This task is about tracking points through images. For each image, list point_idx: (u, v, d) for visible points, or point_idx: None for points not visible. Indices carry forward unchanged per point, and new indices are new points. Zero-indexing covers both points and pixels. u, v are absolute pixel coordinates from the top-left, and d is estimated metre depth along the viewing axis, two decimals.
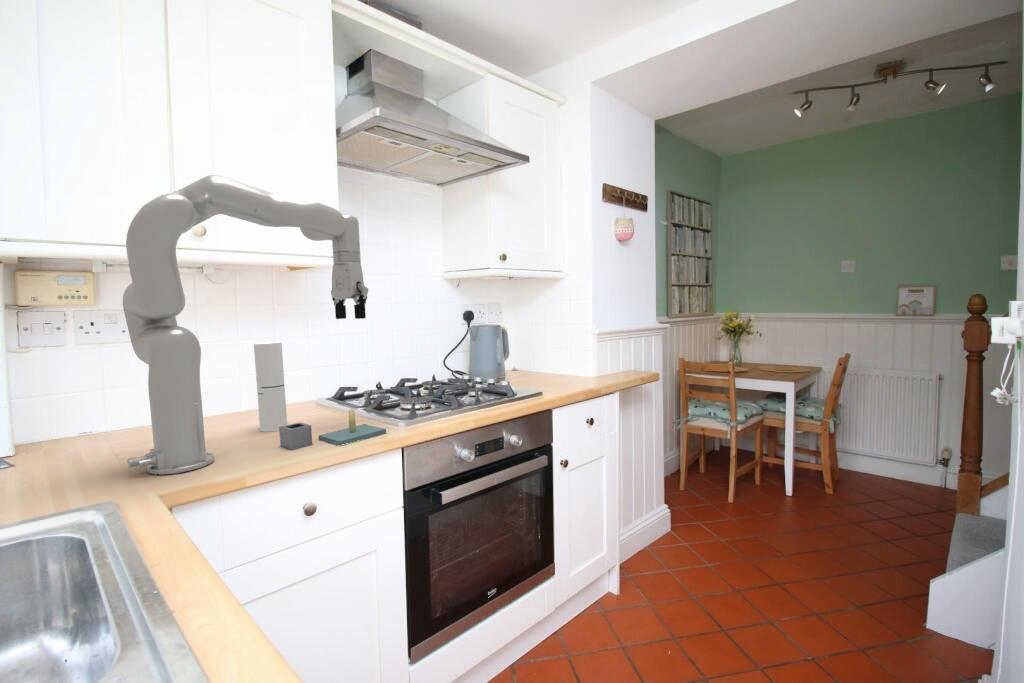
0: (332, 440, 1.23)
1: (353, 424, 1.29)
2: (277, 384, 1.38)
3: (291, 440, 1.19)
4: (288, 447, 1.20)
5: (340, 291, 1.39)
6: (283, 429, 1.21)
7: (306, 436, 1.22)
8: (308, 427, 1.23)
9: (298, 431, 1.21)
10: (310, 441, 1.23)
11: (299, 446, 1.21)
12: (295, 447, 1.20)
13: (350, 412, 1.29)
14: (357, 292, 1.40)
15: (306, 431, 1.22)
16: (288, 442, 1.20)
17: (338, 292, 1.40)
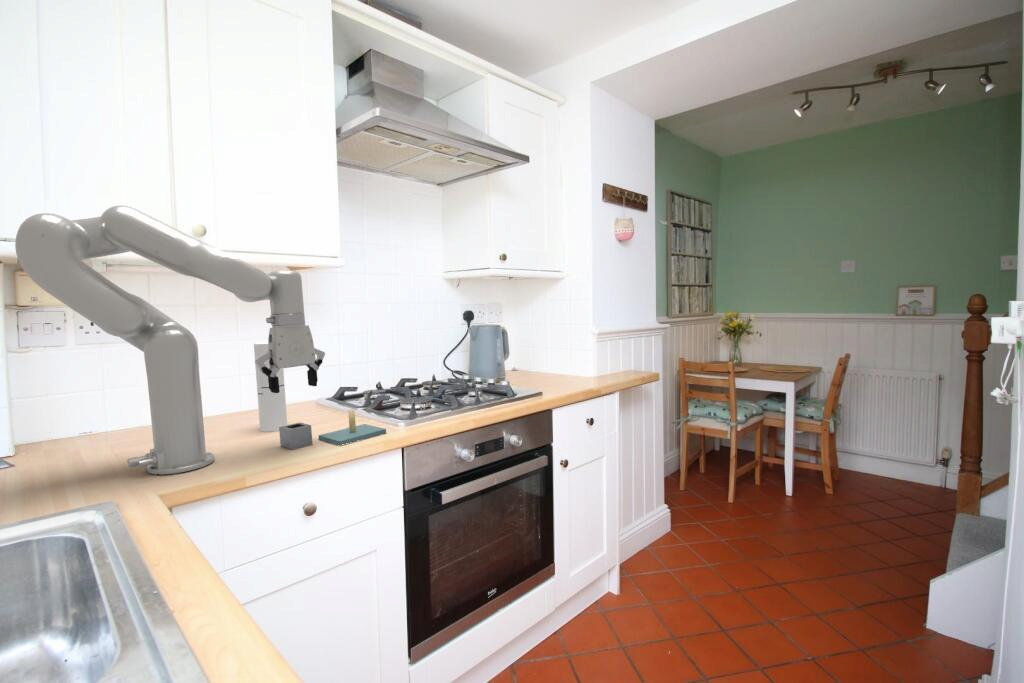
0: (332, 440, 1.23)
1: (353, 424, 1.29)
2: None
3: (291, 440, 1.19)
4: (288, 447, 1.20)
5: (297, 358, 1.20)
6: (283, 429, 1.21)
7: (306, 436, 1.22)
8: (308, 427, 1.23)
9: (298, 431, 1.21)
10: (310, 441, 1.23)
11: (299, 446, 1.21)
12: (295, 447, 1.20)
13: (350, 412, 1.29)
14: None
15: (306, 431, 1.22)
16: (288, 442, 1.20)
17: (293, 359, 1.19)
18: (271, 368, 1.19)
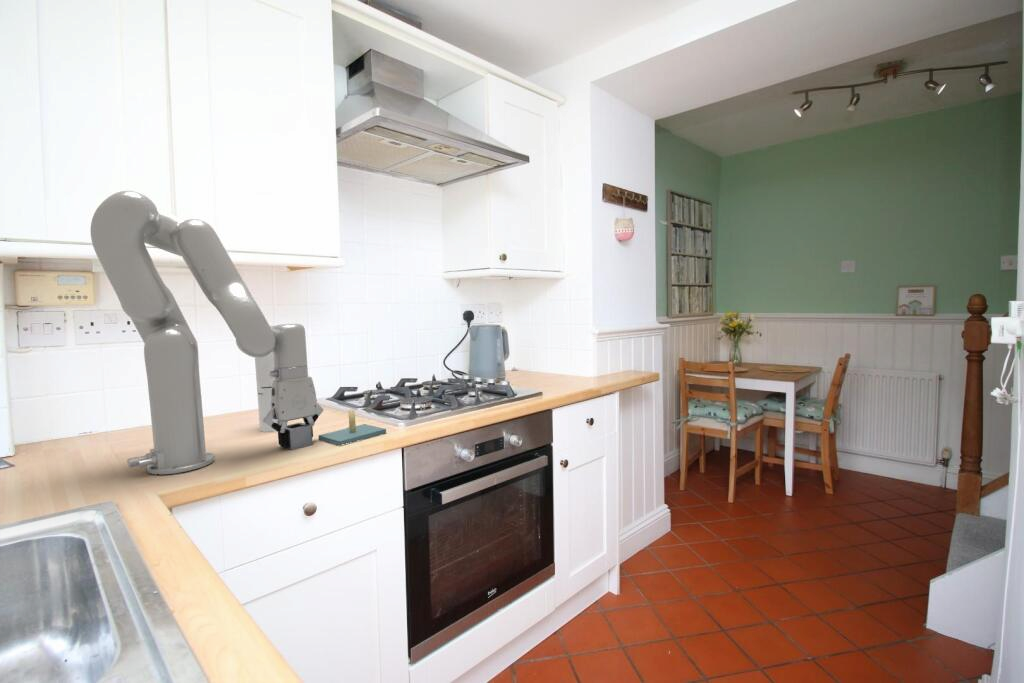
0: (332, 440, 1.23)
1: (353, 424, 1.29)
2: None
3: (291, 440, 1.19)
4: (288, 447, 1.20)
5: (300, 410, 1.21)
6: None
7: (306, 436, 1.22)
8: (308, 427, 1.23)
9: (298, 431, 1.21)
10: (310, 441, 1.23)
11: (299, 446, 1.21)
12: (295, 447, 1.20)
13: (350, 412, 1.29)
14: None
15: (306, 431, 1.22)
16: (288, 442, 1.20)
17: (296, 412, 1.20)
18: (279, 423, 1.20)
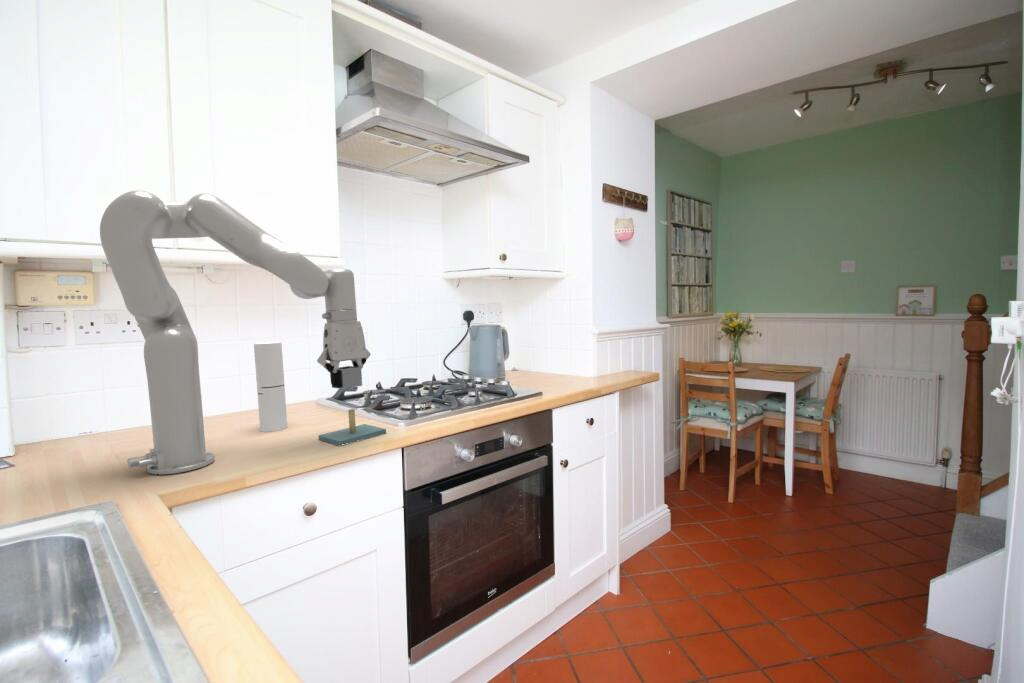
0: (332, 440, 1.23)
1: (353, 424, 1.29)
2: (277, 384, 1.38)
3: (343, 380, 1.25)
4: (340, 387, 1.25)
5: (351, 352, 1.26)
6: None
7: (356, 377, 1.28)
8: (358, 368, 1.28)
9: (349, 371, 1.26)
10: (360, 382, 1.29)
11: (350, 386, 1.26)
12: (347, 387, 1.26)
13: (350, 412, 1.29)
14: None
15: (356, 372, 1.28)
16: (340, 382, 1.25)
17: (347, 353, 1.25)
18: (331, 364, 1.26)
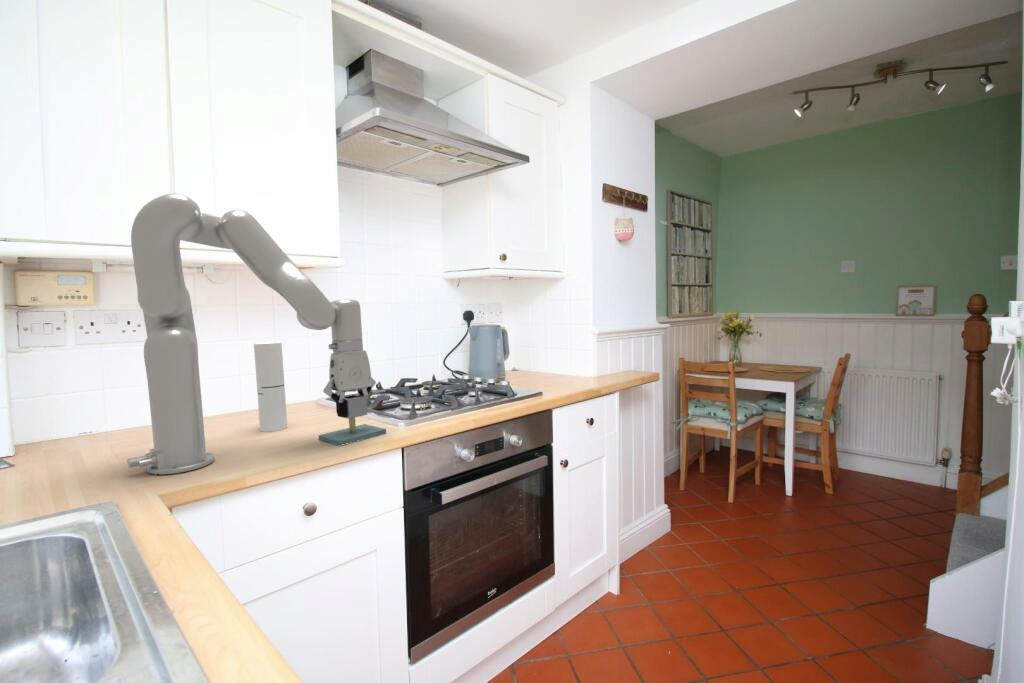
0: (332, 440, 1.23)
1: (353, 424, 1.29)
2: (277, 384, 1.38)
3: (349, 409, 1.26)
4: (346, 416, 1.27)
5: (356, 382, 1.27)
6: None
7: (362, 406, 1.29)
8: (364, 398, 1.29)
9: (355, 401, 1.27)
10: (365, 411, 1.30)
11: (356, 415, 1.27)
12: (353, 416, 1.27)
13: None
14: None
15: (361, 402, 1.29)
16: (346, 412, 1.26)
17: (353, 383, 1.26)
18: (337, 394, 1.27)
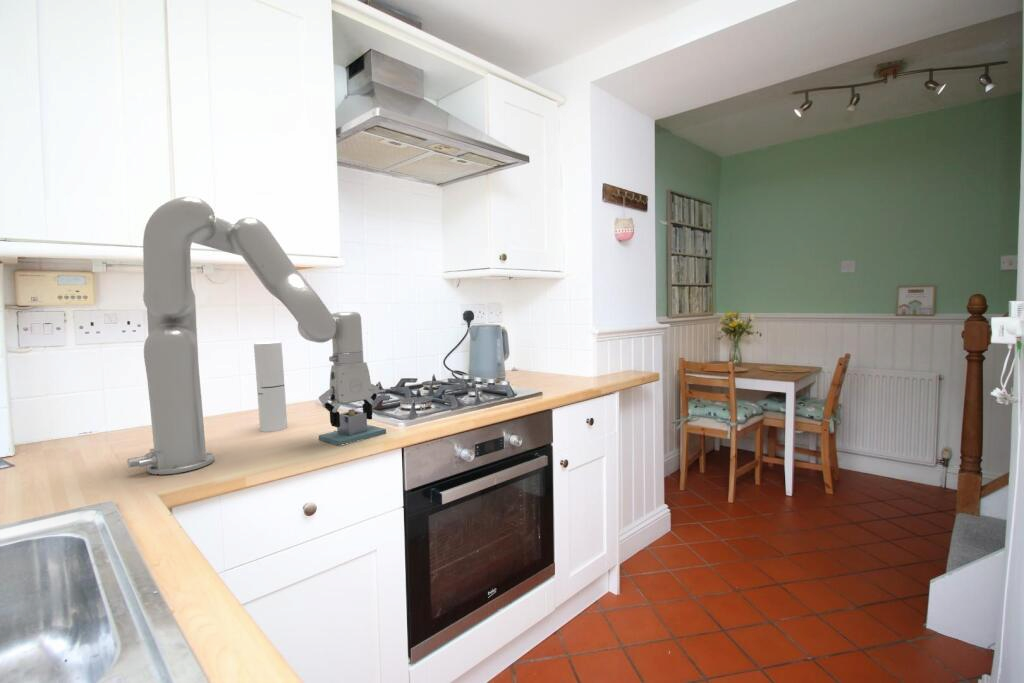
0: (332, 440, 1.23)
1: None
2: (277, 384, 1.38)
3: (349, 426, 1.26)
4: (346, 433, 1.27)
5: (357, 394, 1.27)
6: (341, 416, 1.28)
7: (362, 423, 1.29)
8: (364, 414, 1.29)
9: (355, 418, 1.27)
10: (365, 428, 1.30)
11: (356, 432, 1.28)
12: (352, 433, 1.27)
13: (350, 412, 1.29)
14: None
15: (362, 418, 1.29)
16: (346, 429, 1.27)
17: (353, 395, 1.27)
18: (332, 403, 1.26)
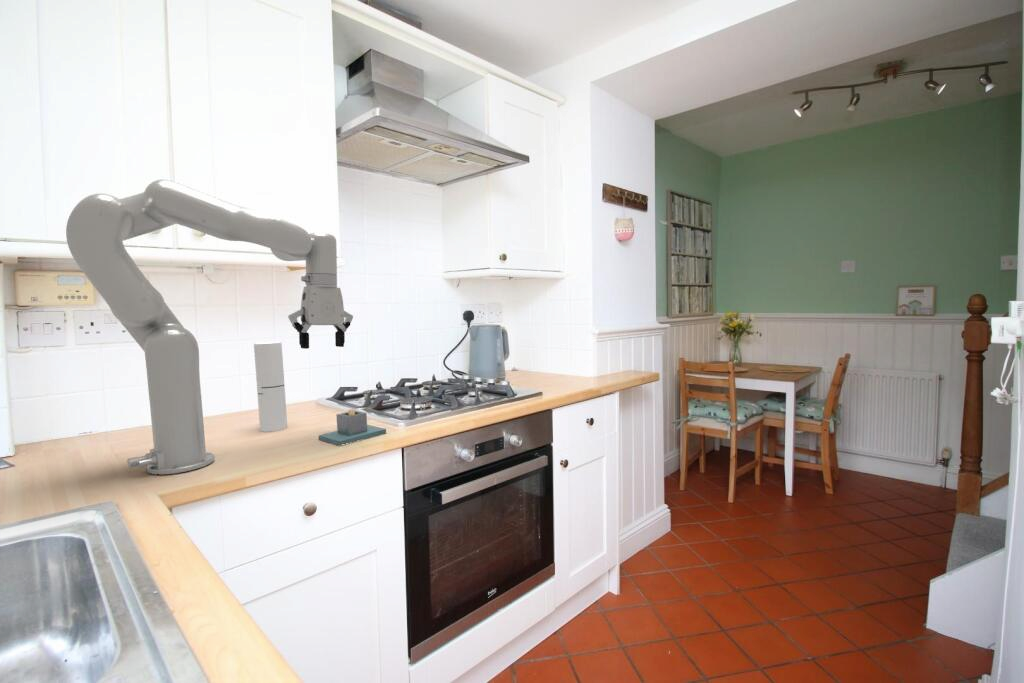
0: (332, 440, 1.23)
1: None
2: (277, 384, 1.38)
3: (349, 426, 1.26)
4: (346, 433, 1.27)
5: (328, 317, 1.25)
6: (341, 416, 1.28)
7: (362, 423, 1.29)
8: (364, 414, 1.29)
9: (355, 418, 1.27)
10: (365, 428, 1.30)
11: (356, 432, 1.28)
12: (352, 433, 1.27)
13: (350, 412, 1.29)
14: None
15: (362, 418, 1.29)
16: (346, 429, 1.27)
17: (324, 318, 1.25)
18: (302, 325, 1.24)
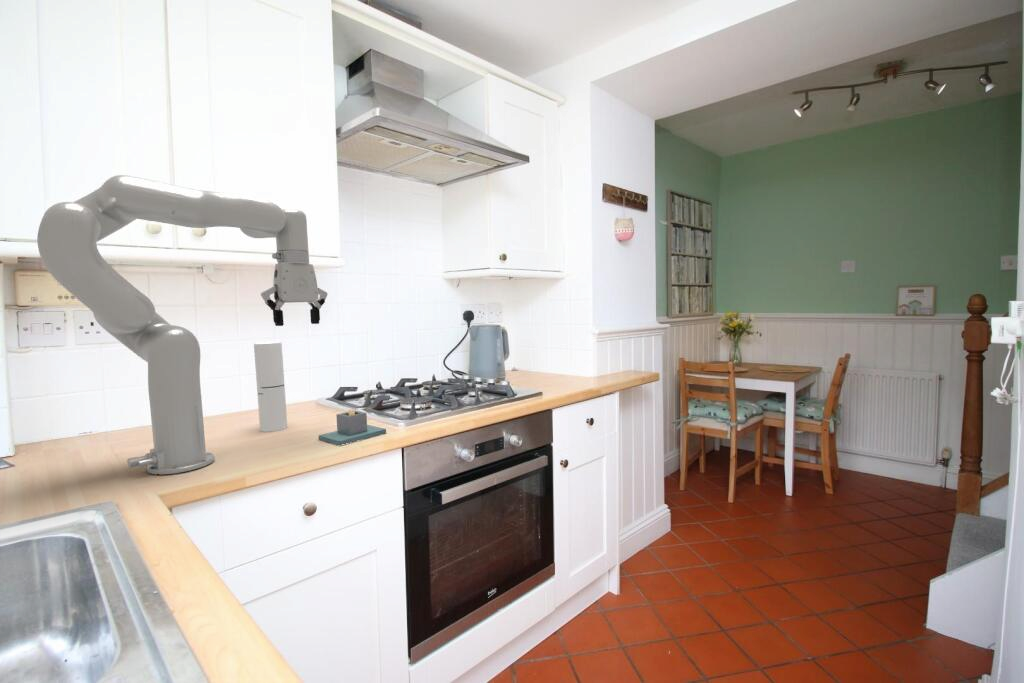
0: (332, 440, 1.23)
1: None
2: (277, 384, 1.38)
3: (349, 426, 1.26)
4: (346, 433, 1.27)
5: (301, 294, 1.25)
6: (341, 416, 1.28)
7: (362, 423, 1.29)
8: (364, 414, 1.29)
9: (355, 418, 1.27)
10: (365, 428, 1.30)
11: (356, 432, 1.28)
12: (352, 433, 1.27)
13: (350, 412, 1.29)
14: None
15: (362, 418, 1.29)
16: (346, 429, 1.27)
17: (297, 295, 1.25)
18: (276, 302, 1.24)
